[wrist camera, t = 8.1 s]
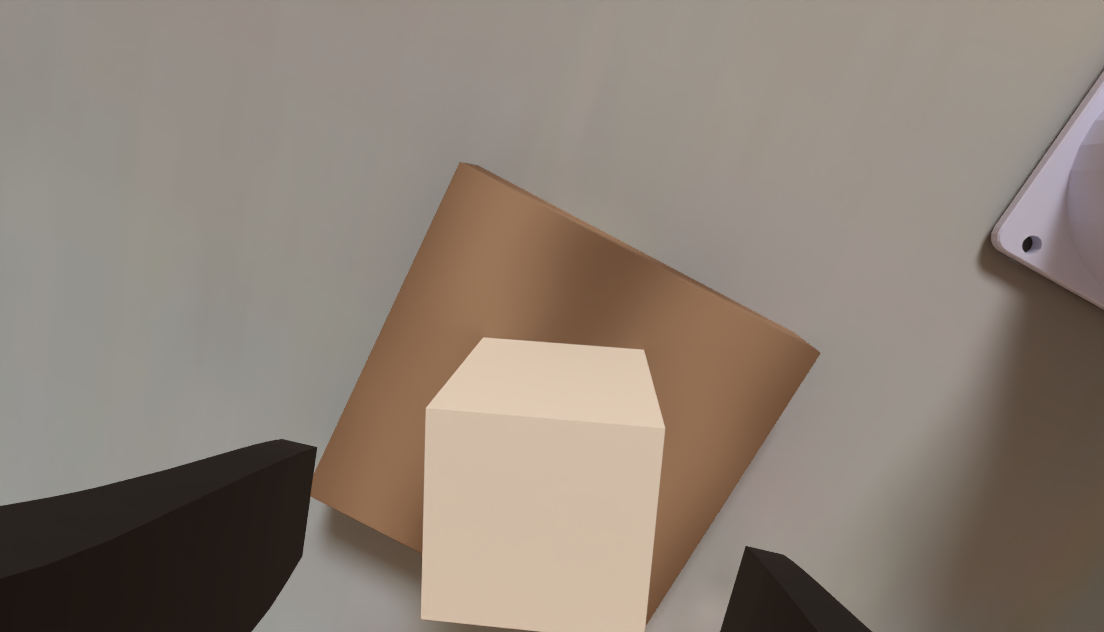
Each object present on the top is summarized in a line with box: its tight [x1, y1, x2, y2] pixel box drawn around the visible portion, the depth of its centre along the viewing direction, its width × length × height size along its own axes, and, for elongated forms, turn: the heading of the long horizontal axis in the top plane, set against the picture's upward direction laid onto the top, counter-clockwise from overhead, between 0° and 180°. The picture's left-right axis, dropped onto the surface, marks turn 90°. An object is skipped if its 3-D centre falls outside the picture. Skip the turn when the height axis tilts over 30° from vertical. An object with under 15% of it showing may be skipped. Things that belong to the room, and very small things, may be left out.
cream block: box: [421, 337, 665, 632], centre depth 15 cm, size 4×4×6 cm
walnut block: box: [310, 162, 820, 626], centre depth 20 cm, size 11×11×3 cm
